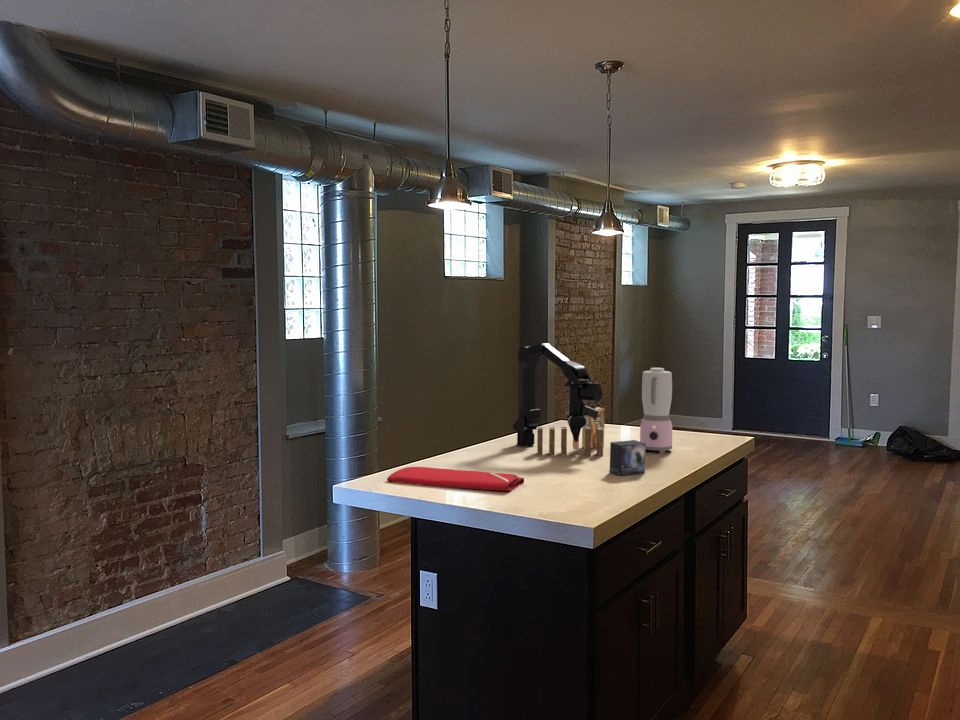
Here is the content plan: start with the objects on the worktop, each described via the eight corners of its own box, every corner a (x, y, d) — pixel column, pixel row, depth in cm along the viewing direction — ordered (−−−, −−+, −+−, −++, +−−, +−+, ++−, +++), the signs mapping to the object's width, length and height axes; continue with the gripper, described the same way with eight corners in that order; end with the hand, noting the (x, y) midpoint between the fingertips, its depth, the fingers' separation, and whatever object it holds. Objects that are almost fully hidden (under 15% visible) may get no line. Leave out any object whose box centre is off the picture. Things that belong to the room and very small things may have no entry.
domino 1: (537, 455, 295) (537, 428, 295) (537, 452, 301) (537, 426, 300) (542, 455, 295) (542, 429, 295) (542, 452, 301) (542, 426, 300)
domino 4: (577, 446, 300) (578, 420, 299) (578, 449, 295) (579, 423, 294) (572, 446, 300) (573, 420, 299) (573, 449, 295) (574, 423, 294)
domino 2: (549, 455, 295) (549, 429, 294) (549, 452, 301) (549, 426, 300) (554, 455, 295) (554, 429, 294) (553, 452, 301) (554, 426, 300)
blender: (643, 446, 313) (644, 366, 311) (674, 449, 309) (675, 367, 307) (635, 453, 299) (636, 369, 297) (668, 456, 294) (669, 370, 292)
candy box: (596, 445, 317) (597, 407, 316) (604, 446, 314) (605, 408, 313) (581, 447, 312) (581, 409, 311) (589, 449, 309) (589, 410, 308)
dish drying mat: (409, 473, 265) (409, 463, 265) (524, 484, 250) (524, 473, 249) (386, 483, 251) (386, 472, 251) (507, 495, 235) (507, 483, 235)
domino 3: (561, 455, 295) (561, 429, 294) (561, 452, 301) (561, 426, 300) (566, 455, 295) (566, 429, 294) (565, 452, 300) (565, 426, 300)
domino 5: (585, 455, 294) (586, 429, 294) (584, 453, 300) (585, 427, 299) (590, 456, 294) (591, 429, 294) (589, 453, 300) (589, 427, 299)
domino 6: (598, 456, 294) (598, 429, 294) (596, 453, 300) (596, 427, 299) (602, 456, 294) (603, 429, 293) (601, 453, 300) (601, 427, 299)
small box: (620, 476, 260) (621, 445, 259) (608, 472, 265) (609, 441, 265) (646, 473, 264) (646, 442, 264) (633, 469, 270) (634, 439, 269)
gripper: (600, 402, 286) (599, 445, 287) (595, 396, 305) (594, 436, 306) (569, 402, 287) (569, 444, 288) (566, 396, 305) (566, 436, 307)
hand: (575, 440), depth 297 cm, fingers closed on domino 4, 6 cm apart
